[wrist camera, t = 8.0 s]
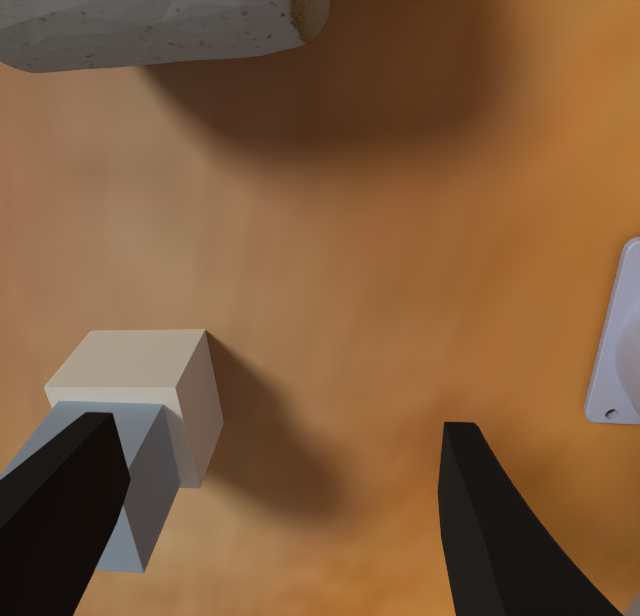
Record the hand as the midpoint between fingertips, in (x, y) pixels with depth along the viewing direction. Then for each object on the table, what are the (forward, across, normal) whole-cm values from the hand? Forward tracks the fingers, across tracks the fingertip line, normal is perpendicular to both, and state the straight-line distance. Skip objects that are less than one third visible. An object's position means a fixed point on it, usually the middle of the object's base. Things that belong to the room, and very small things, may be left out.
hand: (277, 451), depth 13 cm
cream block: (+11, +7, +6) cm, 14 cm away
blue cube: (+7, +8, +6) cm, 12 cm away
